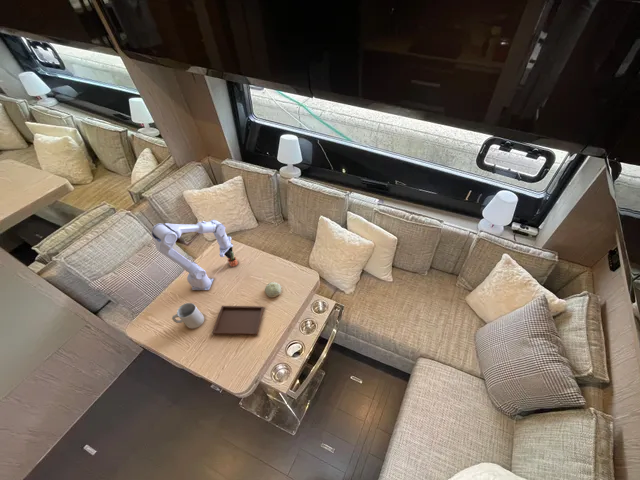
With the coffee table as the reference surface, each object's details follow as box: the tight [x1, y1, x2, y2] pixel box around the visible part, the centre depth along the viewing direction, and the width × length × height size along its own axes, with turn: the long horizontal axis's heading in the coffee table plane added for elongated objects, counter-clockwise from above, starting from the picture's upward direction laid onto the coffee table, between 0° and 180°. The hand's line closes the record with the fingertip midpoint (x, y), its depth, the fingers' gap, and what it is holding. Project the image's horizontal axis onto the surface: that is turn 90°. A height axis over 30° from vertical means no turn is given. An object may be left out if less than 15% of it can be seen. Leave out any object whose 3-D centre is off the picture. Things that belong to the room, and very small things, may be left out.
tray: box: [211, 305, 265, 336], centre depth 141 cm, size 22×16×2 cm
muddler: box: [230, 251, 235, 262], centre depth 162 cm, size 2×2×8 cm
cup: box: [227, 256, 239, 268], centre depth 165 cm, size 5×5×4 cm
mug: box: [171, 302, 205, 329], centre depth 137 cm, size 12×8×11 cm
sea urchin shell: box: [264, 281, 283, 298], centre depth 153 cm, size 9×8×8 cm
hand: (230, 256), depth 162 cm, fingers closed on muddler, 2 cm apart
